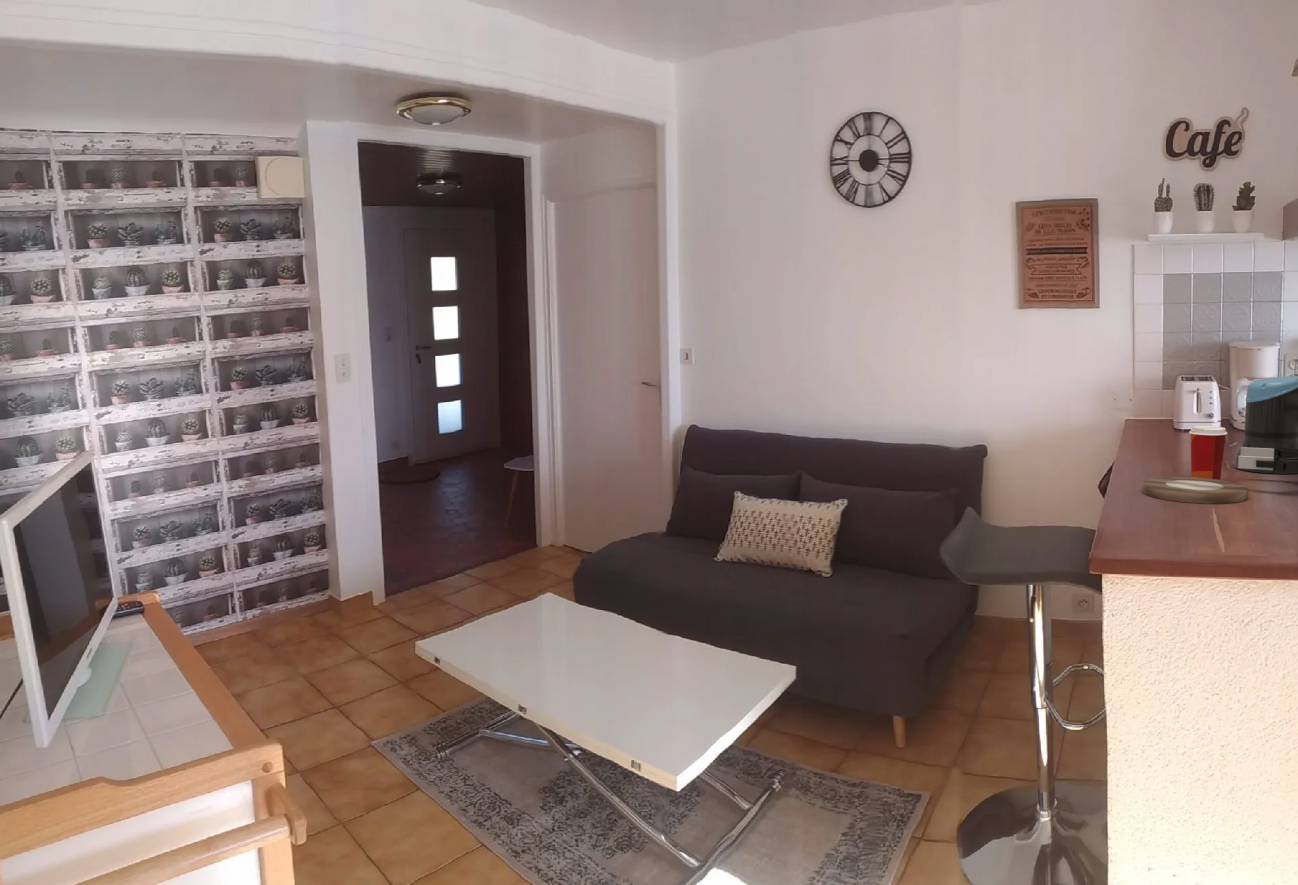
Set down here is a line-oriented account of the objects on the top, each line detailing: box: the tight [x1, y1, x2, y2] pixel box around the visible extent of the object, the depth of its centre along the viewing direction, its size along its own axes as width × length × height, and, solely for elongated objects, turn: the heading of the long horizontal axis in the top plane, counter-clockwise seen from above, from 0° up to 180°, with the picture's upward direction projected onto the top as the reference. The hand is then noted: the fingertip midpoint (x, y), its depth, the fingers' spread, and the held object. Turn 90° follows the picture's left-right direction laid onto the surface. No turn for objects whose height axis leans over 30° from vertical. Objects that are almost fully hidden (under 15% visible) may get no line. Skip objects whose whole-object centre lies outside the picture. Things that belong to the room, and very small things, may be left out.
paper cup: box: [1188, 425, 1228, 480], centre depth 215 cm, size 8×8×14 cm
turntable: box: [1142, 476, 1249, 505], centre depth 203 cm, size 20×20×2 cm
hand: (1239, 457), depth 211 cm, fingers open, 13 cm apart
